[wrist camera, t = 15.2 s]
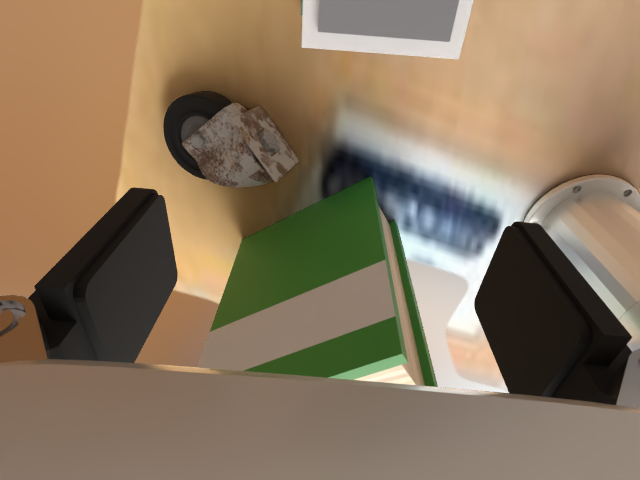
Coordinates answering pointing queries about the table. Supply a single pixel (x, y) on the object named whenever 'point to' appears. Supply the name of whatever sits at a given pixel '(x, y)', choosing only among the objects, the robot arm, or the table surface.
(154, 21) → the table surface
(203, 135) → the caster wheel
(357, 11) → the unit
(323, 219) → the hardback book
